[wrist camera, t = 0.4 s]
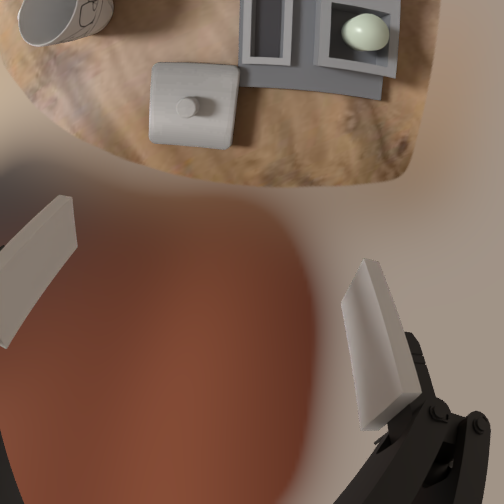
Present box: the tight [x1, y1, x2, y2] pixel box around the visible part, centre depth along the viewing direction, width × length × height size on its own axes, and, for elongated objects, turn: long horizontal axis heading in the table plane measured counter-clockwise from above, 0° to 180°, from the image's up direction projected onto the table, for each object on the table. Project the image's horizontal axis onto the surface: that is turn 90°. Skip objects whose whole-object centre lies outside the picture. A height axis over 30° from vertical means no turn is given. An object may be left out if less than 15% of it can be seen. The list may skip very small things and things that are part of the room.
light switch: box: [149, 62, 241, 150], centre depth 32 cm, size 10×10×5 cm
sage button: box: [341, 14, 389, 51], centre depth 23 cm, size 4×4×4 cm
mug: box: [17, 0, 114, 47], centre depth 22 cm, size 11×8×10 cm
